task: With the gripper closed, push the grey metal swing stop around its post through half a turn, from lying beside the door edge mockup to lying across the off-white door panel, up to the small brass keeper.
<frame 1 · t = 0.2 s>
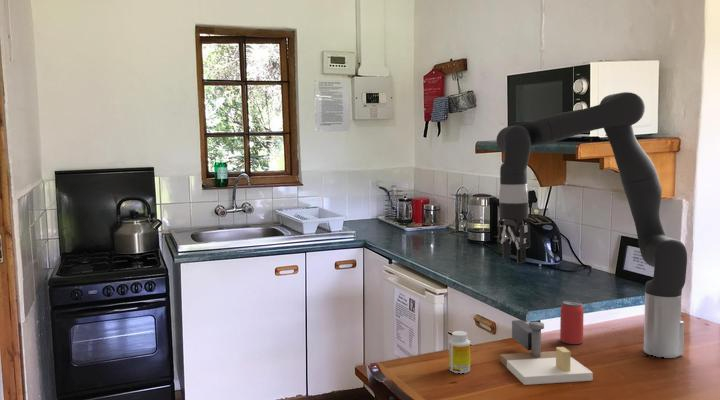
hand: (513, 260, 166), 28 cm above the table, tool pointing down, fingers open, 8 cm apart
door edge mockup: (536, 363, 168), on the table
swing stop: (524, 334, 175), point 6 cm above the table, hinge at 0.0°
beer can: (571, 342, 186), on the table
supplement bottle: (459, 371, 163), on the table
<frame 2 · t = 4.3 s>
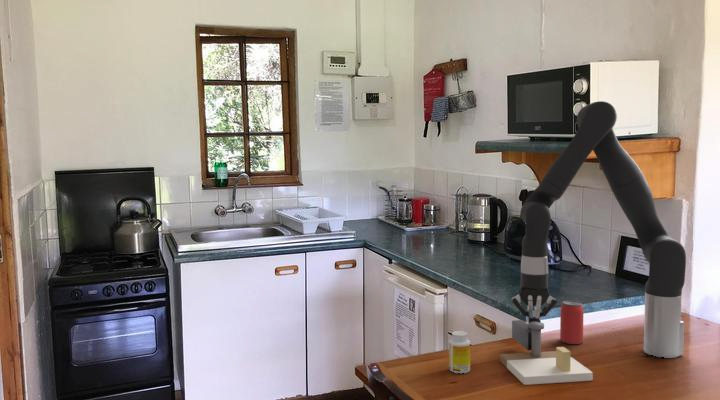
hand: (533, 330, 177), 6 cm above the table, tool pointing down, fingers closed
swing stop: (524, 334, 175), point 6 cm above the table, hinge at 0.0°, touching gripper
everything else where it was.
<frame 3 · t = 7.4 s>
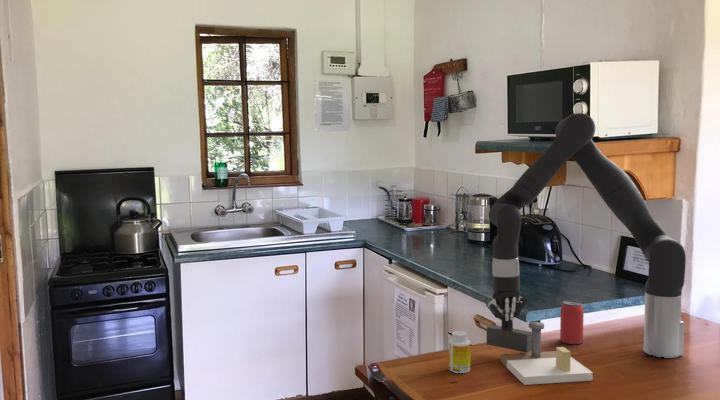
hand: (507, 332, 176), 6 cm above the table, tool pointing down, fingers closed
swing stop: (508, 338, 172), point 6 cm above the table, hinge at 45.1°, touching gripper
everything else where it was.
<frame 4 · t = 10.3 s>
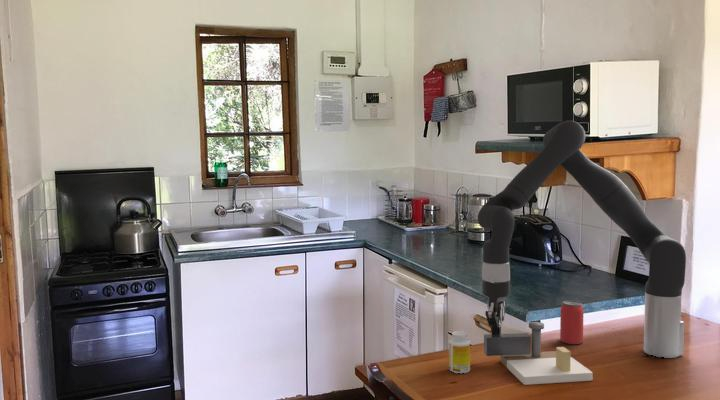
hand: (496, 339, 170), 6 cm above the table, tool pointing down, fingers closed
swing stop: (507, 344, 167), point 6 cm above the table, hinge at 85.8°, touching gripper
everything else where it was.
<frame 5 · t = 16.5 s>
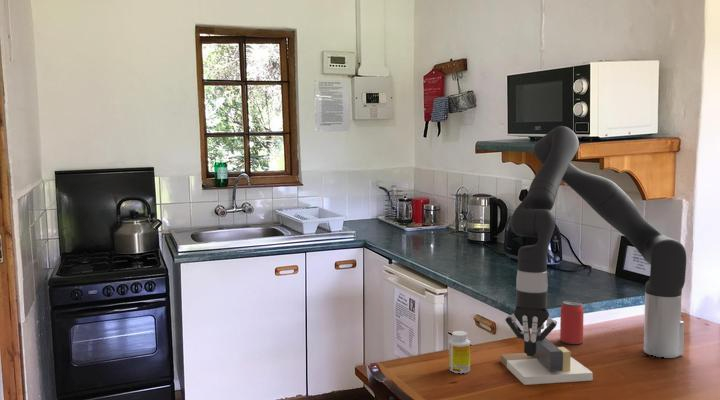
hand: (530, 355, 155), 6 cm above the table, tool pointing down, fingers closed
swing stop: (547, 353, 159), point 6 cm above the table, hinge at 177.2°
everything else where it was.
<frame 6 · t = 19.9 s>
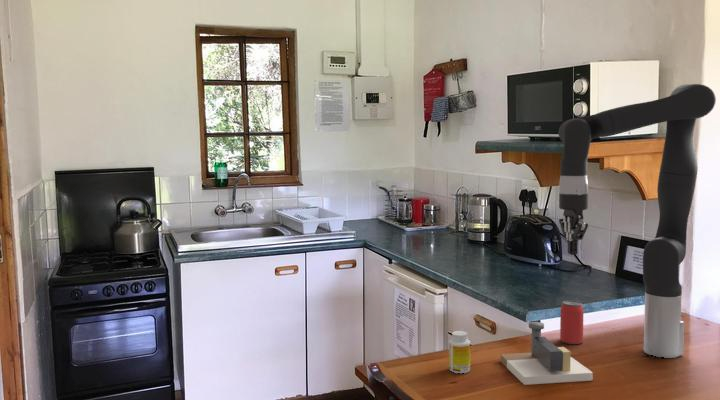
hand: (572, 254, 170), 29 cm above the table, tool pointing down, fingers closed
nothing on the table moved.
at the end: swing stop at +177° (first picture: +0°) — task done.
